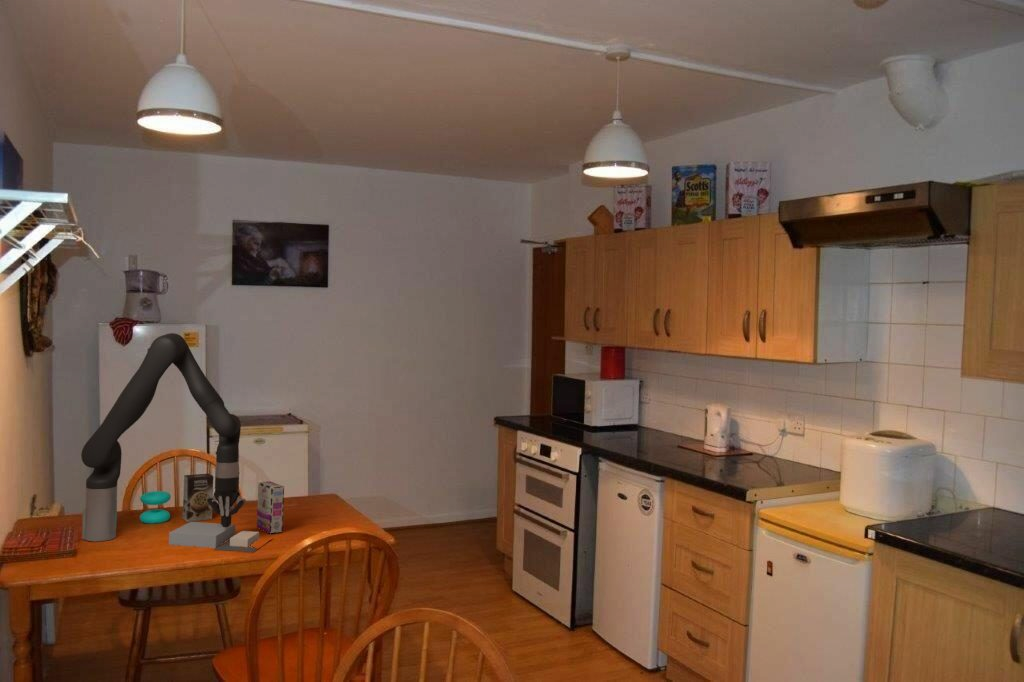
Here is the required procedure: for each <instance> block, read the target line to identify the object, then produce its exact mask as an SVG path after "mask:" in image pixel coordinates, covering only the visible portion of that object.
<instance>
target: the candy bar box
mask: <svg viewBox="0 0 1024 682" xmlns="http://www.w3.org/2000/svg"><path fill="white" fill-rule="evenodd" d="M284 498H285V486H284V485H281V484H279V483H275V482H273V481H270V480H269V481H262V482H258V483H257V509H256V510H257V513H256V528H257V527H258V528H260V529H262V530H264V531H266V532H265V533H267V532H268V533H267V534H269V533H270V534H269V535H272V534H271V533H276V534H278V533H277V532H282V531H283V529H284V526H283V525H284V502H285V500H284ZM258 528H257V529H258ZM260 529H259V530H260ZM262 530H261V531H262ZM264 531H263V532H264ZM282 533H283V532H282Z"/></svg>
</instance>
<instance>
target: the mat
mask: <svg viewBox="0 0 1024 682" xmlns="http://www.w3.org/2000/svg"><path fill="white" fill-rule="evenodd" d="M250 546H251V545H250ZM252 547H253V546H252ZM213 550H214V551H221V550H222V551H223V552H224V551H225V552H235V551H243V552H242V553H249V552H253V553H255V552H256V551H258V550H257V548H255V547H253V548H251V547H249V546H248V547H247V548H246V547H240V546H230V540H228V541H227V542H225V543H223V544H222V545H220V546H218V547H217V548H213ZM255 550H256V551H255ZM254 551H255V552H254Z"/></svg>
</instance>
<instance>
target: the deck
mask: <svg viewBox="0 0 1024 682" xmlns="http://www.w3.org/2000/svg"><path fill="white" fill-rule="evenodd" d="M234 535H236V524H232V523H231V525H229V527H222V525H221V523H215V522H200V521H192V522H187V523H185V524H184V525H181V526H180V527H178V528H175V529H174V530H171V531H170V532H168V545H169V546H178V545H180V547H182V546H183V547H193V546H196V547H195V548H207V547H209V548H211V549H215V548H216V547H219V546H220V545H221V544H222V543H223V544H224V542H225V541H227V540H228V541H229V539H230V538H231V537H233V536H234Z"/></svg>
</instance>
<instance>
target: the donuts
mask: <svg viewBox="0 0 1024 682" xmlns="http://www.w3.org/2000/svg"><path fill="white" fill-rule="evenodd" d="M171 497H172V496H171V494H170V492H167V491H161V490H155V491H154V490H153V491H147V492H143V494H141V495H140V498H139V499H140V502H141V503H142V504H145V505H148V506H159V505H163V504H166V503H168V502H169V501H170V500H171ZM170 518H171V514H170V512H169V511H167V510H165V509H160V508H159V509H158V508H156V509H149V510H145V511H144V512H142V513H141V514H140V515H139V520H140V521H141V522H142V523H144V524H161V523H165V522H168V521H169V520H170Z"/></svg>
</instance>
